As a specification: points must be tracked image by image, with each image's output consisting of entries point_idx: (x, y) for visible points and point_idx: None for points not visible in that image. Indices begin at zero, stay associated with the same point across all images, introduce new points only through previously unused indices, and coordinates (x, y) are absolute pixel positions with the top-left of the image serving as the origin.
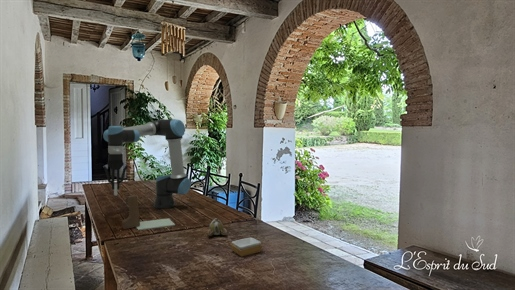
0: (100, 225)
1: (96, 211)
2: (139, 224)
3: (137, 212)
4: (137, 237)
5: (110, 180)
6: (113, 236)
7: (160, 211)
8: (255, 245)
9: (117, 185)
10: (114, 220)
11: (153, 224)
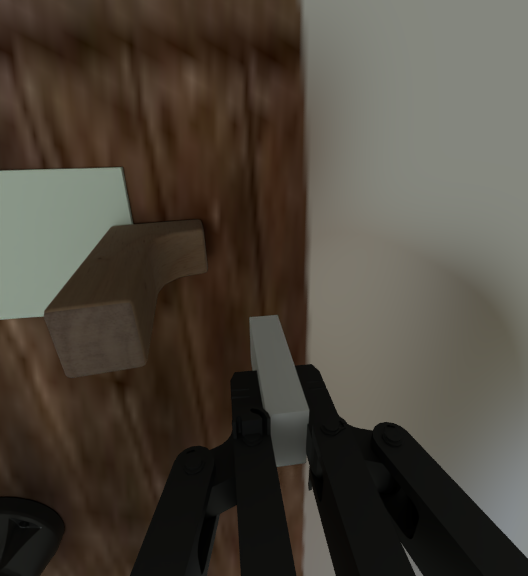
0: (300, 328)
1: (296, 504)
2: (110, 227)
3: (98, 250)
4: (118, 4)
5: (393, 461)
6: (257, 109)
7: (22, 460)
8: None
9: (258, 406)
10: None
11: (30, 233)
